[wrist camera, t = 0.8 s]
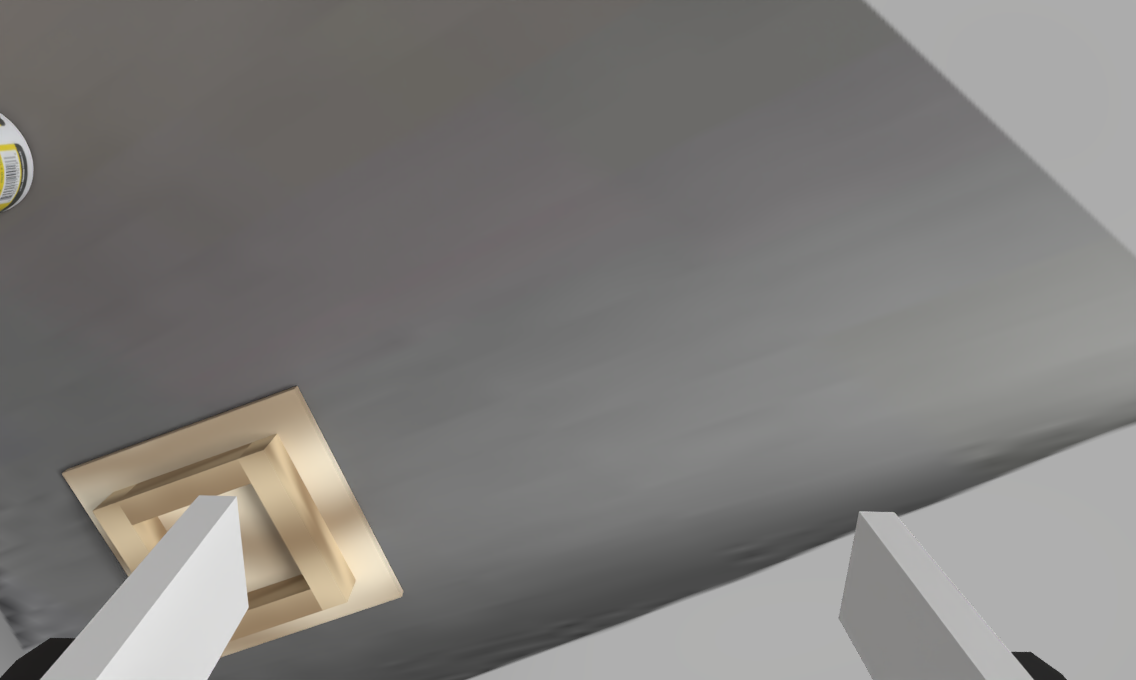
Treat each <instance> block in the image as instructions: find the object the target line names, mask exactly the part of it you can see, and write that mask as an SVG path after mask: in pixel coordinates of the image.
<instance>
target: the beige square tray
mask: <svg viewBox="0 0 1136 680" xmlns="http://www.w3.org/2000/svg"><path fill="white" fill-rule="evenodd" d="M62 475H63V476H64V478H65V479H66V481H67V482H68V484H69V486H70V487H71V489H72V490H73V492H74V493H75V495H76V496H77V498H78V499H79V501H80V503H81V504H82V506H83V507H84V509H85V510H86V512H87V513H88V515H89V516H90V518H91V519H92V521H93V523H94V524H95V526H96V527H97V529H98V530H99V532H100V533H101V535H102V536H103V538H104V540H105V541H106V543H107V544H108V546H109V547H110V549H111V550H112V552H113V553H114V555H115V557H116V558H117V560H118V561H119V563H120V564H121V566H122V567H123V569H124V570H125V572H126V573H127V575H128V577H129V576H130V575H131V574H132V572H133V571H134V570H135V569H136V568H137V567H138V565H139V564H140V563H141V562H142V561H143V560H144V559H145V557H146V556H147V555H148V554H149V553H150V552H151V550H152V549H153V548H154V547H155V546H156V545H157V543H158V542H159V541H160V540H161V539H162V538H163V536H164V535H165V534H166V533H167V532H168V531H169V530H170V528H171V527H172V526H173V525H174V524H175V523H176V521H177V520H178V519H179V518H180V517H181V516H182V514H183V513H184V512H185V511H186V510H187V509H188V507H189V506H190V505H191V504H192V503H193V502H194V501H195V499H196V498H197V497H198V496H199V495H206V496H237V504H238V513H239V522H240V532H241V541H242V550H243V560H244V569H245V578H246V587H247V597H248V606H249V608H248V609H247V611H246V613H245V615H244V616H243V618H242V620H241V622H240V623H239V625H238V627H237V629H236V630H235V632H234V634H233V635H232V637H231V639H230V641H229V642H228V644H227V646H226V648H225V649H224V651H223V653H222V655H221V656H220V657H223V656H226V655H229V654H232V653H235V652H238V651H241V650H244V649H247V648H250V647H253V646H256V645H259V644H262V643H265V642H268V641H271V640H274V639H277V638H280V637H283V636H286V635H289V634H292V633H295V632H298V631H301V630H304V629H307V628H310V627H313V626H316V625H319V624H322V623H325V622H328V621H331V620H334V619H337V618H340V617H343V616H346V615H349V614H352V613H355V612H358V611H361V610H364V609H367V608H370V607H373V606H376V605H379V604H382V603H385V602H388V601H391V600H394V599H397V598H400V597H402V594H403V590H402V588H401V586H400V584H399V582H398V580H397V578H396V576H395V574H394V572H393V570H392V569H391V567H390V565H389V563H388V561H387V559H386V557H385V555H384V553H383V551H382V549H381V547H380V545H379V543H378V541H377V539H376V538H375V536H374V534H373V532H372V530H371V528H370V526H369V524H368V522H367V520H366V518H365V516H364V514H363V512H362V510H361V508H360V507H359V505H358V503H357V501H356V499H355V497H354V495H353V493H352V491H351V489H350V487H349V485H348V483H347V481H346V479H345V477H344V475H343V474H342V472H341V470H340V468H339V466H338V464H337V462H336V460H335V458H334V456H333V454H332V452H331V450H330V448H329V446H328V444H327V443H326V441H325V439H324V437H323V435H322V433H321V431H320V429H319V427H318V425H317V423H316V421H315V419H314V417H313V415H312V413H311V411H310V410H309V408H308V406H307V404H306V402H305V400H304V398H303V396H302V394H301V392H300V390H299V388H298V386H295V387H292V388H290V389H287V390H284V391H281V392H279V393H276V394H273V395H270V396H268V397H265V398H262V399H259V400H256V401H254V402H251V403H248V404H245V405H243V406H240V407H237V408H234V409H232V410H229V411H226V412H223V413H221V414H218V415H215V416H212V417H210V418H207V419H204V420H201V421H199V422H196V423H193V424H190V425H188V426H185V427H182V428H179V429H177V430H174V431H171V432H168V433H166V434H163V435H160V436H157V437H155V438H152V439H149V440H146V441H143V442H141V443H138V444H135V445H132V446H130V447H127V448H124V449H121V450H119V451H116V452H113V453H110V454H108V455H105V456H102V457H99V458H97V459H94V460H91V461H88V462H86V463H83V464H80V465H77V466H75V467H72V468H69V469H67V470H65V471H64V472H63V473H62Z"/></svg>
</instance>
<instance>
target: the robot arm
mask: <svg viewBox="0 0 1136 680" xmlns="http://www.w3.org/2000/svg"><path fill="white" fill-rule="evenodd" d="M248 608H249V606H248V597H247V587H246V578H245V569H244V560H243V550H242V541H241V532H240V522H239V513H238V504H237V496H206V495H199V496H198V497H197V498H196V499H195V501H194V502H193V503H192V504H191V505H190V506H189V507H188V509H187V510H186V511H185V512H184V513H183V514H182V516H181V517H180V518H179V519H178V520H177V521H176V523H175V524H174V525H173V526H172V527H171V528H170V530H169V531H168V532H167V533H166V534H165V535H164V536H163V538H162V539H161V540H160V541H159V542H158V543H157V545H156V546H155V547H154V548H153V549H152V550H151V552H150V553H149V554H148V555H147V556H146V557H145V559H144V560H143V561H142V562H141V563H140V564H139V565H138V567H137V568H136V569H135V570H134V571H133V572H132V574H131V575H130V576H129V577H128V578H127V579H126V581H125V582H124V583H123V584H122V585H121V586H120V587H119V589H118V590H117V591H116V592H115V593H114V594H113V596H112V597H111V598H110V599H109V600H108V601H107V603H106V604H105V605H104V606H103V607H102V608H101V610H100V611H99V612H98V613H97V614H96V615H95V616H94V618H93V619H92V620H91V621H90V622H89V623H88V625H87V626H86V627H85V628H84V629H83V630H82V632H81V633H80V634H79V635H78V636H77V637H76V638H50V639H48V640H47V641H45V642H44V643H42V644H41V645H39V646H38V647H36V648H35V649H33V650H32V651H30V652H28V653H27V654H25V655H24V656H23V657H21V658H19V659H18V660H16V662H15V663H14V664H13V665H12V666H11V667H10V668H9V669H8V670H7V671H6V672H5V673H4V675H3V676H2V677H1V678H0V680H207V679H208V677H209V675H210V674H211V672H212V670H213V668H214V667H215V665H216V663H217V661H218V660H219V658H220V656H221V655H222V653H223V651H224V649H225V648H226V646H227V644H228V642H229V641H230V639H231V637H232V635H233V634H234V632H235V630H236V629H237V627H238V625H239V623H240V622H241V620H242V618H243V616H244V615H245V613H246V611H247V609H248ZM839 620H840V622H841V623H842V625H843V627H844V628H845V630H846V632H847V634H848V636H849V638H850V639H851V641H852V643H853V645H854V646H855V648H856V650H857V652H858V654H859V655H860V657H861V659H862V661H863V663H864V664H865V666H866V668H867V670H868V672H869V673H870V675H871V677H872V679H873V680H1067V679H1066V678H1065V677H1064V676H1063V675H1062V674H1061V673H1059V672H1058V671H1057V670H1055V669H1054V668H1052V667H1051V666H1050V665H1048V664H1047V663H1045V662H1044V661H1043V660H1041V659H1040V658H1038V657H1037V656H1035V655H1034V654H1033V653H1031V652H1010V651H1009V649H1008V648H1007V647H1006V646H1005V645H1004V643H1003V642H1002V641H1001V640H1000V639H999V637H998V636H997V635H996V634H995V633H994V631H993V630H992V629H991V628H990V627H989V625H988V624H987V623H986V622H985V621H984V619H983V618H982V617H981V616H980V615H979V613H978V612H977V611H976V610H975V609H974V607H973V606H972V605H971V604H970V603H969V602H968V600H967V599H966V598H965V597H964V595H963V594H962V593H961V592H960V591H959V589H958V588H957V587H956V586H955V585H954V583H953V582H952V581H951V580H950V579H949V578H948V576H947V575H946V574H945V573H944V571H943V570H942V569H941V568H940V567H939V566H938V564H937V563H936V562H935V561H934V560H933V558H932V557H931V556H930V555H929V553H928V552H927V551H926V550H925V549H924V548H923V547H922V545H921V544H920V543H919V541H918V540H917V539H916V538H915V537H914V535H913V534H912V533H911V532H910V531H909V530H908V528H907V527H906V526H905V525H904V524H903V522H902V521H901V520H900V519H899V518H898V516H897V515H896V514H895V513H894V512H859V515H858V520H857V526H856V531H855V536H854V541H853V546H852V552H851V557H850V562H849V567H848V572H847V577H846V583H845V588H844V593H843V598H842V603H841V609H840V614H839Z"/></svg>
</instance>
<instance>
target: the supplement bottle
mask: <svg viewBox="0 0 1136 680" xmlns="http://www.w3.org/2000/svg"><path fill="white" fill-rule="evenodd" d="M32 179H33V160H32V156H31V152H30V149H29V147H28V145H27V143H26V141H25V139H24V137H23V136H22V134H21V133H20V132H19V130H18V129H17V128H16V127H15V125H14V124H13V123H12V122H11V121H10V120H8V119H7V118H6V117H5V116H4V115H2V114H1V113H0V212H3V211H6V210H8V209H10V208H12V207H13V206H15V205H17V204H18V203H19V202H20V201H21V200H22V199H23V198H24V197H25V196H26V194H27V192H28V191H29V189H30V186H31V184H32Z"/></svg>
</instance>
